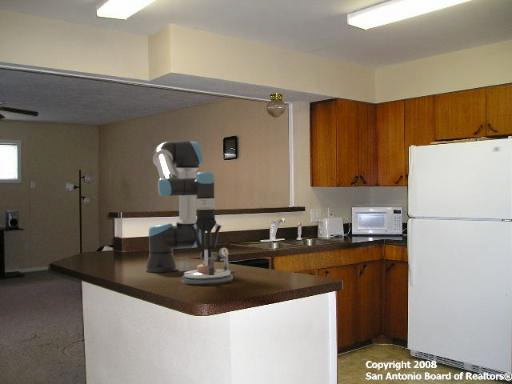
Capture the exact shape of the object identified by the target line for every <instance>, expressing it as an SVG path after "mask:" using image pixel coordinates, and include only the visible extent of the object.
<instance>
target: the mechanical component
mask: <svg viewBox="0 0 512 384" xmlns="http://www.w3.org/2000/svg"><path fill="white" fill-rule="evenodd" d="M217 256H218V253H217V252H213V251H211V257H209V259H210V258H214V261H217V259H218V257H217ZM199 258H200V260H201V261H204V257H202V251H201V252H199Z"/></svg>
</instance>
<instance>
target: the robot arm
mask: <svg viewBox="0 0 512 384" xmlns="http://www.w3.org/2000/svg"><path fill="white" fill-rule="evenodd" d="M152 162H153V165H154V166H155V167H156V168H157V172H158V176H159V179H158V181H157V193H158V195H159V196H160V197H161V196H163V197H169V196H170V197H173V196H174V197H177V196H178V210H179V212H178V215H179V217H178V220H177V221H176V223H175V224H176V225H173V223H171V222H168V223H167V222H165V223H159V224H155V225H151V226H150V227H149V229H148V248H149V250H148V252H149V255H148V259H147V264H146V266H145V272H148V273H166V272H167V273H169V272H174V271H176V270H177V269H178V268H177V266H178V265H177V264H176V260H175V257H174V249H176V250H177V249H193V248H197V249H200V250H201V252H202V257H204V260H203V262H205V266H208V259H209V257H211V252H212V249H214V248H216V246H217V243H218V237H219V234H220V233H219V232H220V230H221V228H222V225H221V224H218V223H217V221H216V214H215V213H216V211H215V207H216V205H215V204H216V203H215V201H216V200H215V199H216V198H215V174H214V173H213V172H209V171H202V172H197V171H198V170H199V168H200V167H199V166H200V165H202V164H203V153H202V147H201V145H200V143H198V141H190V140H189V141H184V140H183V141H181V140H180V141H179V140H175V141H174V140H172V141H164V142H161V144H159V145H158V146H156V147H155V149H154V150H153V152H152ZM174 165H175V166H174ZM176 170H177V172H178V175H177V172H176ZM214 227H215V230H214V234H213V240H212V230H213V229H214ZM206 234H207V235H206ZM206 237H207V240H206ZM206 241H207V245H206ZM206 247H207V248H206Z"/></svg>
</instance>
